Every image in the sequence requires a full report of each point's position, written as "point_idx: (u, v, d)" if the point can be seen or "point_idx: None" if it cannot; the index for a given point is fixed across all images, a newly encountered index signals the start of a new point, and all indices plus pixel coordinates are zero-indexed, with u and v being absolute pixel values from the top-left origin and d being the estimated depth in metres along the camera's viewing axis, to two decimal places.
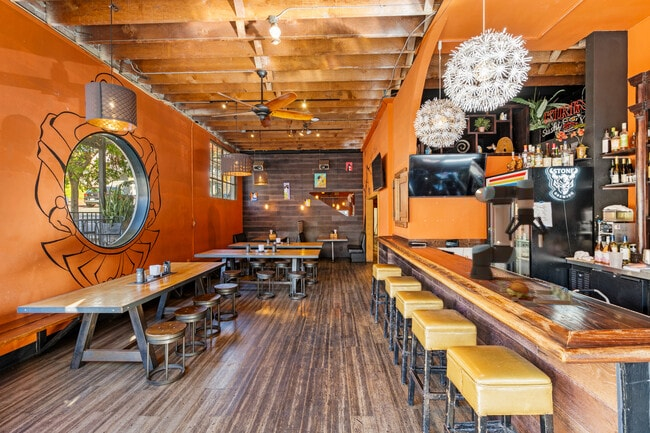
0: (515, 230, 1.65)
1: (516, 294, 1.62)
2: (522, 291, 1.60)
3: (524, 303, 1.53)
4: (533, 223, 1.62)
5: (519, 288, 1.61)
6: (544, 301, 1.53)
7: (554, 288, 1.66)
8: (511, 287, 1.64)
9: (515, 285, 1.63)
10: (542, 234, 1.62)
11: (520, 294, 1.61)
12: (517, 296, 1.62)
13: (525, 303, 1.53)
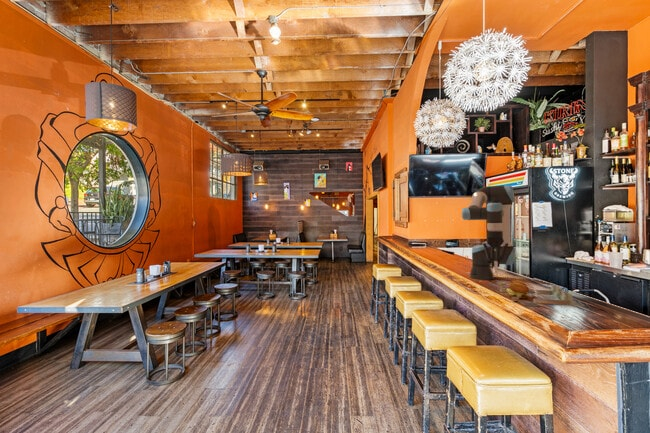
0: (494, 255, 1.67)
1: (516, 294, 1.62)
2: (522, 291, 1.60)
3: (524, 303, 1.53)
4: (498, 247, 1.66)
5: (519, 288, 1.61)
6: (544, 301, 1.53)
7: (554, 288, 1.66)
8: (511, 287, 1.65)
9: (515, 285, 1.63)
10: (497, 260, 1.67)
11: (520, 294, 1.61)
12: (517, 296, 1.62)
13: (525, 303, 1.53)
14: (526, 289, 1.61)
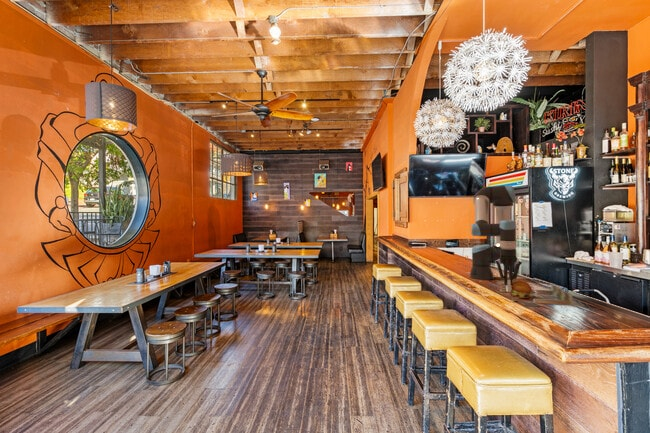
0: None
1: (519, 294, 1.62)
2: (525, 291, 1.60)
3: (524, 303, 1.53)
4: (511, 265, 1.65)
5: (522, 288, 1.61)
6: (544, 301, 1.53)
7: (554, 288, 1.66)
8: (514, 287, 1.64)
9: (518, 285, 1.63)
10: (510, 278, 1.65)
11: (523, 294, 1.61)
12: (520, 296, 1.62)
13: (525, 303, 1.53)
14: (529, 289, 1.60)
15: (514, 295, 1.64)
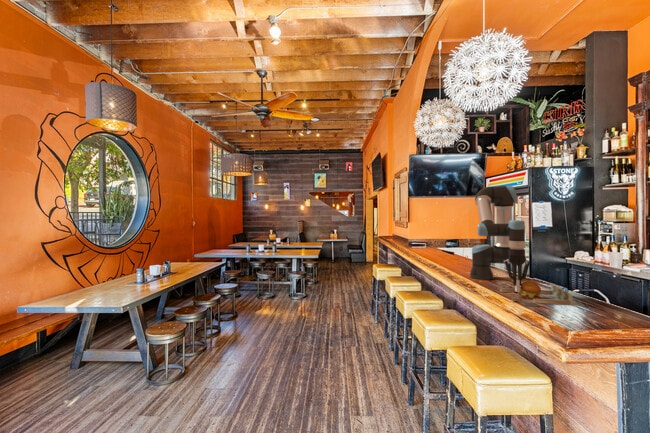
0: None
1: (528, 294, 1.61)
2: (534, 291, 1.59)
3: (524, 303, 1.53)
4: (520, 265, 1.64)
5: (531, 288, 1.59)
6: (544, 301, 1.53)
7: (554, 288, 1.66)
8: (523, 287, 1.63)
9: (527, 285, 1.62)
10: (519, 278, 1.64)
11: (532, 294, 1.60)
12: (529, 296, 1.61)
13: (525, 303, 1.53)
14: (538, 289, 1.59)
15: (523, 295, 1.63)
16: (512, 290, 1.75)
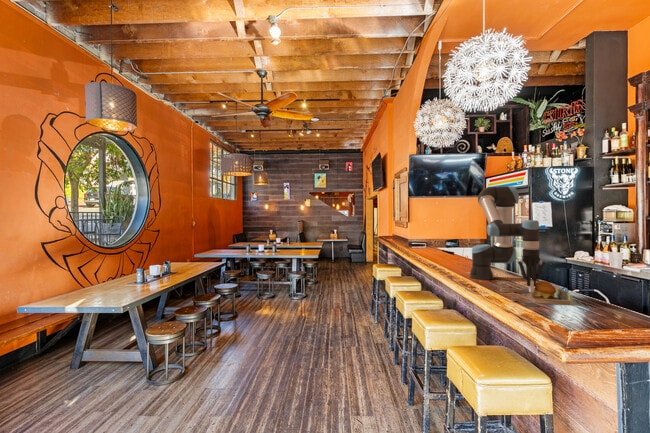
0: (530, 274, 1.63)
1: (543, 295, 1.59)
2: (549, 292, 1.57)
3: (524, 303, 1.53)
4: (535, 266, 1.62)
5: (546, 289, 1.58)
6: (544, 301, 1.53)
7: None
8: (537, 288, 1.61)
9: (542, 286, 1.60)
10: (533, 279, 1.62)
11: (547, 295, 1.58)
12: (544, 297, 1.59)
13: (525, 303, 1.53)
14: (553, 290, 1.58)
15: (538, 296, 1.61)
16: (512, 290, 1.75)
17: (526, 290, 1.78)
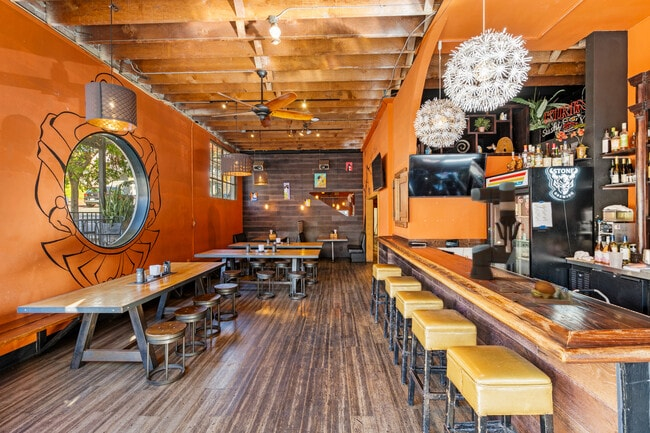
0: (507, 234, 1.68)
1: (543, 295, 1.59)
2: (549, 292, 1.57)
3: (524, 303, 1.53)
4: (511, 226, 1.66)
5: (546, 289, 1.58)
6: (544, 301, 1.53)
7: None
8: (537, 288, 1.61)
9: (541, 286, 1.60)
10: (510, 239, 1.67)
11: (547, 295, 1.58)
12: (544, 297, 1.60)
13: (525, 303, 1.53)
14: (553, 290, 1.58)
15: (537, 296, 1.62)
16: (512, 290, 1.75)
17: (526, 290, 1.78)
